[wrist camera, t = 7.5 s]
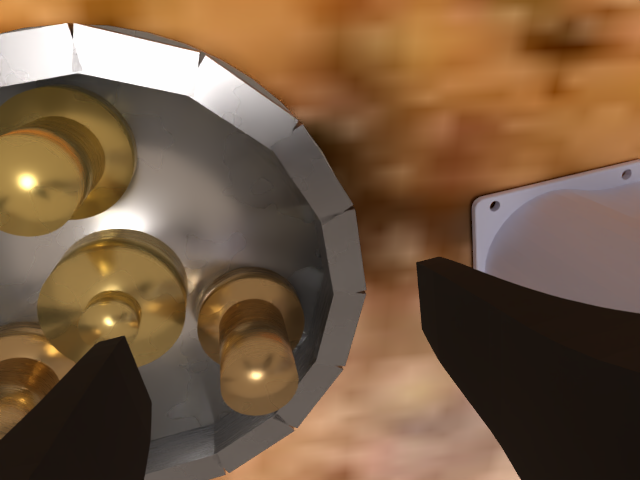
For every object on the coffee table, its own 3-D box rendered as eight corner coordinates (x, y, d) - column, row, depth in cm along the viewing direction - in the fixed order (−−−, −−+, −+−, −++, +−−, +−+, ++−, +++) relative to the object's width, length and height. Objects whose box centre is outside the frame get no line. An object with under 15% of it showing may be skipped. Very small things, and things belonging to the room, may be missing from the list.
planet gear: (124, 81, 17) (92, 97, 12) (147, 203, 19) (126, 255, 14) (-18, 87, 16) (-107, 107, 12) (20, 214, 18) (-44, 273, 13)
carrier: (311, -19, 18) (353, -43, 12) (372, 391, 26) (413, 480, 21) (-293, 82, 15) (-556, 106, 10) (-12, 500, 24) (-76, 632, 18)
